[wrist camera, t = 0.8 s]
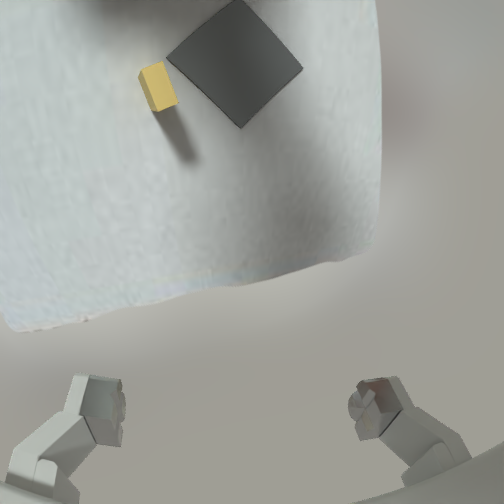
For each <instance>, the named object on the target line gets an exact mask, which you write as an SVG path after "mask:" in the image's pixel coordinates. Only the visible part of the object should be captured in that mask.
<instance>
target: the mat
mask: <svg viewBox="0 0 504 504" xmlns="http://www.w3.org/2000/svg"><path fill="white" fill-rule="evenodd" d="M166 58H167V59H168V60H169V61H170V62H171V63H173V64H174V65H175V66H176V67H177V68H178V69H179V70H180V71H181V72H182V73H184V74H185V75H186V76H187V77H188V78H189V79H190V80H191V81H192V82H193V83H194V84H195V85H196V86H197V87H199V88H200V89H201V90H202V91H203V92H204V93H205V94H206V95H207V96H208V97H209V98H210V99H211V100H212V101H213V102H214V103H215V104H216V105H217V106H218V107H219V108H220V109H221V110H222V111H223V112H224V113H225V114H226V115H227V116H228V117H229V118H230V119H231V120H232V121H233V122H234V123H235V124H236V125H237V126H238V127H239V128H241V127H242V126H243V125H244V124H245V123H246V122H247V121H248V120H249V119H250V118H251V117H252V116H253V115H254V114H255V113H256V112H257V111H258V110H259V109H260V108H261V107H262V106H263V105H264V104H265V103H266V102H267V101H268V100H270V99H271V98H272V97H273V96H274V95H275V94H276V93H277V92H278V91H279V90H280V89H281V88H282V87H283V86H284V85H285V84H286V83H287V82H288V81H289V80H291V79H292V78H293V77H294V76H295V75H296V74H297V73H298V72H299V71H300V70H301V69H303V67H302V66H301V64H300V63H299V62H298V61H297V60H296V58H295V57H294V56H293V55H292V54H291V53H290V51H289V50H288V49H287V48H286V47H285V46H284V44H283V43H282V42H281V41H280V40H279V39H278V38H277V36H276V35H275V34H274V33H273V32H272V31H271V30H270V29H269V28H268V27H267V25H266V24H265V23H264V22H263V21H262V20H261V19H260V18H259V17H258V16H257V15H256V14H255V13H254V12H253V11H252V10H251V9H250V8H249V7H248V6H247V5H246V4H245V3H244V2H243V1H242V0H234V1H233V2H232V3H230V4H229V5H228V6H226V7H225V8H224V9H222V10H221V11H220V12H218V13H217V14H216V15H215V16H213V17H212V18H211V19H210V20H208V21H207V22H206V23H205V24H204V25H202V26H201V27H200V28H199V29H198V30H196V31H195V32H194V33H193V34H192V35H191V36H189V37H188V38H187V39H186V40H185V41H184V42H183V43H182V44H180V45H179V46H178V47H177V48H176V49H175V50H174V51H173V52H172V53H171V54H170V55H168V56H167V57H166Z"/></svg>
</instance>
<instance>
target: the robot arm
mask: <svg viewBox="0 0 504 504" xmlns="http://www.w3.org/2000/svg"><path fill="white" fill-rule="evenodd" d="M356 387H357V389H358V390H357V391H356V392H354V393H353V394H352V395H351V397H350V399H349V403H348V409H349V414H350V416H351V418H352V419H354V420H355V421H356V424H355V429H356V432H357V434H358V437H359V439H360V441H362V440H368V439H373V438H379V437H380V438H379V439H380V440H381V441H382V442H383V443H384V444H385V445H386V446H388V447H389V448H390V449H391V450H392V451H393V452H394V453H395V454H396V455H397V456H398V457H400V458H401V459H402V460H403V461H404V462H405V463H406V464H407V465H408V466H410V468H408V469H407V470H406V471H405V472H404V473H403V474H402V476H401V478H402V480H403V483H404V486H405V487H404V488H401V489H399V490H396V491H392V492H389V493H386V494H383V495H380V496H377V497H373V498H369V499H366V500H362V501H358V502H354V503H350V504H504V442H502V443H500V444H498V445H497V446H495V447H493V448H491V449H489V450H488V451H486V452H484V453H482V454H480V455H478V456H476V457H474V458H472V457H471V455H470V453H469V451H468V450H467V448H466V446H465V444H464V442H463V440H462V438H461V436H460V435H459V434H458V433H456V432H455V431H453V430H452V429H450V428H449V427H447V426H445V425H444V424H443V423H441V422H440V421H438V420H437V419H435V418H434V417H432V416H431V415H429V414H428V413H426V412H425V411H423V410H422V409H420V408H419V407H415V406H414V405H413V403H412V401H411V399H410V397H409V396H408V394H407V392H406V390H405V388H404V386H403V385H402V383H401V381H400V379H399V378H398V377H397V376H392V377H385V378H376V379H368V380H362V381H360V382H359V383H358V385H357V386H356ZM121 391H122V382H121V380H120V379H114V378H108V377H101V376H96V375H90V374H84V373H78V372H77V373H76V374H75V375H74V377H73V380H72V383H71V387H70V390H69V394H68V397H67V400H66V403H65V407H64V410H63V412H61V411H59V412H58V413H56V414H55V415H54V416H53V417H52V418H50V419H49V420H48V421H47V422H45V423H44V424H43V425H42V426H41V427H40V428H38V429H37V430H36V431H35V432H33V433H32V434H31V435H30V436H29V437H27V438H26V439H25V440H24V441H22V442H21V443H20V444H19V445H18V446H17V447H15V448H14V450H13V454H12V457H11V461H10V464H9V468H8V472H7V476H6V481H5V482H2V481H0V504H79V496H80V492H79V491H78V489H77V488H76V487H75V486H74V485H73V484H72V483H71V481H70V480H69V479H68V477H69V476H70V475H71V474H72V473H73V472H74V471H75V470H76V468H77V467H78V466H79V465H80V464H81V463H82V462H83V460H84V459H85V458H86V457H87V456H88V455H89V453H90V452H91V451H92V450H93V449H94V448H95V447H96V444H100V445H108V446H115V447H121V441H122V433H123V430H122V426H121V422H122V421H123V420H124V419H125V406H126V403H125V396H124V393H123V392H121Z"/></svg>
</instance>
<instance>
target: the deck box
mask: <svg viewBox="0 0 504 504" xmlns="http://www.w3.org/2000/svg"><path fill="white" fill-rule="evenodd" d="M138 79H139V81H140V84H141V86H142V89H143V91H144V94H145V96H146V99H147V101H148V104H149V106H150V109H151V111H156V112H159V111H161V110H163V109H166V108H168V107H170V106H173V105H175V104H178V103H179V102H178V100H177V97H176V95H175V92H174V90H173V87H172V84H171V82H170V79H169V77H168V74H167V71H166V69H165V66H164V64H163V61H161V62H158V63H156V64H153V65H151V66H148V67H146V68H144V69H141V71H140V74H139V76H138Z"/></svg>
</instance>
